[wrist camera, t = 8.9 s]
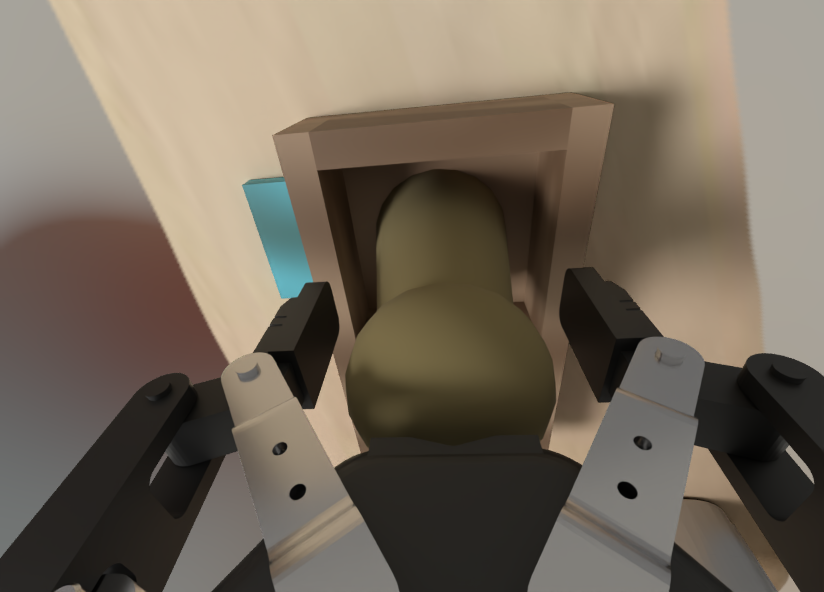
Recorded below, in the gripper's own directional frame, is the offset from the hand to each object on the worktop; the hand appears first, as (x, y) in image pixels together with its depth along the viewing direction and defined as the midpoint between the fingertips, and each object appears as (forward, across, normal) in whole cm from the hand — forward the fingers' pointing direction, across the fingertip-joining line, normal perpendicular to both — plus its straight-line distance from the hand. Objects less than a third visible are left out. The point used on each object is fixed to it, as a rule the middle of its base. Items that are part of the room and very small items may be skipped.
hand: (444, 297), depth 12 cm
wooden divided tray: (+6, +2, +5) cm, 8 cm away
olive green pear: (+6, 0, 0) cm, 6 cm away
